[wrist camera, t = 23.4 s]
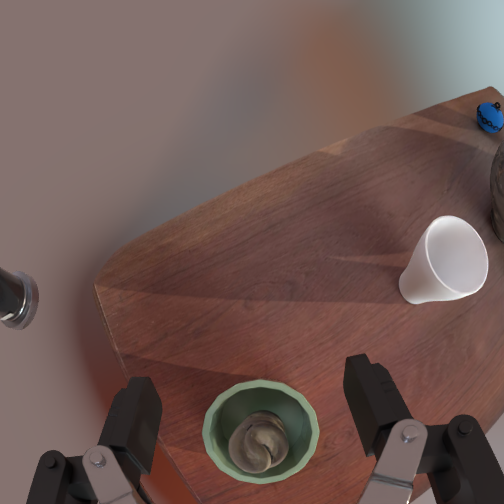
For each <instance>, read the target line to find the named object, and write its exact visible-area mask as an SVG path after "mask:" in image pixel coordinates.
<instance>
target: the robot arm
mask: <svg viewBox="0 0 504 504" xmlns="http://www.w3.org/2000/svg"><path fill="white" fill-rule="evenodd" d="M26 303H27V287H26V284H25V282H24V280H23V279H22V278H20V277H18V276H15V275H14V274H12V273H10V272H8V271H6V270H5V269H3V268H1V267H0V318H1V320H7V321H11V322H12V321H16V320H17V319H18V318H19V317H20V316H21V315H22V313H23V311H24V309H25V306H26ZM343 388H344V393H345V397H346V399H347V402H348V405H349V408H350V411H351V413H352V416H353V419H354V422H355V425H356V428H357V431H358V433H359V436H360V439H361V442H362V445H363V448H364V451H365V454H366V457H368V456H372V455H375V457H376V460H377V462H376V464H375V467H374V469H373V471H372V473H371V475H370V477H369V479H368V481H367V483H366V485H365V487H364V489H363V491H362V493H361V495H360V497H359V499H358V500H357V502H356V504H407V503H408V501H409V499H410V496H411V493H412V490H413V485H412V483H413V480H414V477H415V474H421V473H427V476H428V478H429V481H430V484H431V487H432V490H433V494H434V497H435V500H436V503H437V504H504V474H503V472H502V470H501V468H500V465H499V463H498V461H497V459H496V457H495V455H494V453H493V451H492V449H491V447H490V445H489V443H488V441H487V439H486V437H485V435H484V433H483V431H482V429H481V427H480V425H479V423H478V422H477V420H476V419H475V418H473V417H472V416H470V415H458V416H456V417H454V418H453V419H452V420H451V421H450V423H449V424H445V425H433V426H428V425H424V424H423V423H422V422H420V421H418V420H415V419H414V418H413V417H412V416H411V414H410V412H409V410H408V408H407V406H406V404H405V402H404V400H403V398H402V396H401V394H400V393H399V391H398V389H397V388H396V385H395V383H394V381H393V379H392V377H391V376H390V374H389V372H388V370H387V369H386V368H384V367H383V366H382V365H381V364H379V363H375V364H371V363H370V361H369V359H368V357H367V355H366V354H359V355H354V356H350V357H347V358H346V363H345V372H344V380H343ZM161 416H162V402H161V399H160V397H159V395H158V393H157V391H156V389H155V387H154V385H153V383H152V381H151V379H150V378H149V377H131V378H130V380H129V383H128V386H127V389H123V388H122V389H121V390H120V391H119V392H118V393H117V394H116V396H115V397H114V399H113V402H112V405H111V408H110V410H109V413H108V416H107V419H106V421H105V424H104V427H103V430H102V433H101V436H100V439H99V442H98V444H97V446H94V447H91V448H89V449H88V450H87V451H86V452H85V454H84V455H83V456H75V457H65V456H64V455H63V454H62V453H60V452H59V451H56V450H51V451H47V452H46V453H44V454H43V455H42V456H41V458H40V460H39V463H38V466H37V469H36V472H35V475H34V478H33V482H32V485H31V488H30V492H29V495H28V499H27V503H26V504H97V503H98V501H99V503H100V504H155V503H154V502H153V501H152V499H151V497H150V496H149V494H148V493H147V491H146V490H145V488H144V486H143V485H142V483H141V482H140V476H141V474H147V475H150V472H151V466H152V461H153V456H154V451H155V445H156V440H157V435H158V430H159V425H160V420H161Z"/></svg>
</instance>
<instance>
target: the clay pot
mask: <svg viewBox="0 0 504 504" xmlns="http://www.w3.org/2000/svg"><path fill="white" fill-rule="evenodd" d="M490 190H491V200H492V206H493V208H492V211H491V219H492V225H493V228H494V231H495V233H496V235H497V237H498V238H499V239H500V240H501V241H502V242H503V243H504V141H503V142H502V143H501V145H500V146H499V148H498V150H497V152H496V154H495V157H494V160H493V163H492V167H491V174H490Z"/></svg>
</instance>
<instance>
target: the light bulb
mask: <svg viewBox="0 0 504 504" xmlns="http://www.w3.org/2000/svg"><path fill="white" fill-rule="evenodd" d="M288 449H289V444H288V440H287V437H286V435H285V428H284V424H283V422H282V420H281V419H280V418H279V416H278V415H277V414H275V413H273V412H271V411H267V410H258V411H254V412H252V413H250V414H249V415H248V416H247V417H246V418H245V419H244V420H243V421H242V423H241V424H240V425H239V426H238V427H237V428H236V430H235V431H234V432H233V434H232V436H231V438H230V440H229V454H230V457H231V459H232V460H233V462H234V463H235V464H236V465H237V466H238V467H239V468H240V469H242V470H244V471H245V472H249V473H261V472H264V471H266V470H267V469H268V468H272V467H274V466H276V465H278V464H279V463H280V462H282V461H283V459H284V458H285V457H286V455H287V452H288Z"/></svg>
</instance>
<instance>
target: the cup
mask: <svg viewBox="0 0 504 504" xmlns="http://www.w3.org/2000/svg"><path fill="white" fill-rule="evenodd" d="M487 272H488V257H487V252H486V249H485V246H484V244H483V241H482V239H481V238H480V236H479V235H478V233H477V232H476V231H475V229H474V228H473V227H472V226H471V225H470V224H468V223H467V222H466V221H464V220H462V219H460V218H458V217H455V216H448V215H446V216H441V217H438V218H437V219H435V220H434V221H433V222H432V223H431V224H430V225H429V227H428V228H427V229H426V231H425V232H424V234H423V235H422V236H421V238H420V240H419V242H418V244H417V246H416V248H415V250H414V252H413V255H412V257H411V260H410V262H409V264H408V266H407V268H406V269H405V270H404V272H403V273H402V274H401V276H400V278H399V289H400V292H401V294H402V296H403V297H404V298H405V299H406V300H407V301H408V302H410V303H412V304H420V303H423V302H427V301H447V300H454V299H459V298H462V297H465V296H467V295H470V294H473V293H475V292H477V291H478V290H479V289H480V288H481V287H482V285H483V283H484V282H485V280H486V276H487Z"/></svg>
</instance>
